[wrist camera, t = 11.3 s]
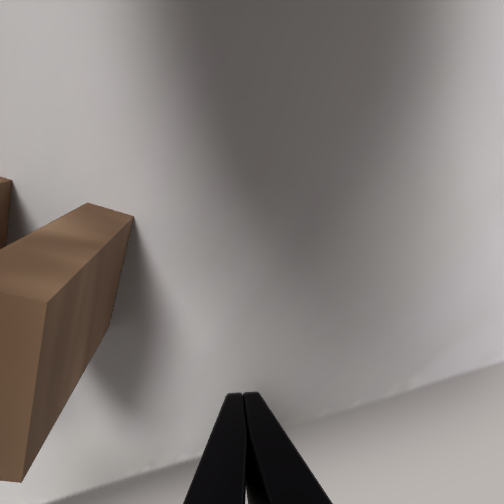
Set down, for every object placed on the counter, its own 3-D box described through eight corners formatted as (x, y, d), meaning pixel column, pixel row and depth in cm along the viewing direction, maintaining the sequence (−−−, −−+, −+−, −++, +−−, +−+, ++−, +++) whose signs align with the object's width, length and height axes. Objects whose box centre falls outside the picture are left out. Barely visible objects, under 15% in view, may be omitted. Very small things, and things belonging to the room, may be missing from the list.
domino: (133, 216, 11) (46, 302, 5) (108, 327, 13) (21, 482, 7) (87, 202, 11) (-57, 279, 5) (67, 318, 12) (-59, 474, 7)
